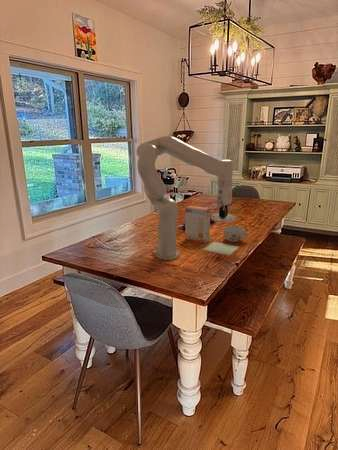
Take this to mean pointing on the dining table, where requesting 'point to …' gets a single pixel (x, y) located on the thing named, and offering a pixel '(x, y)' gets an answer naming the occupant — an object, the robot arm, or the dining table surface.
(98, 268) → the dining table surface
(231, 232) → the teacup
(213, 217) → the lid
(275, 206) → the dining table surface
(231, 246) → the mat
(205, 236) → the cracker box
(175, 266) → the dining table surface
